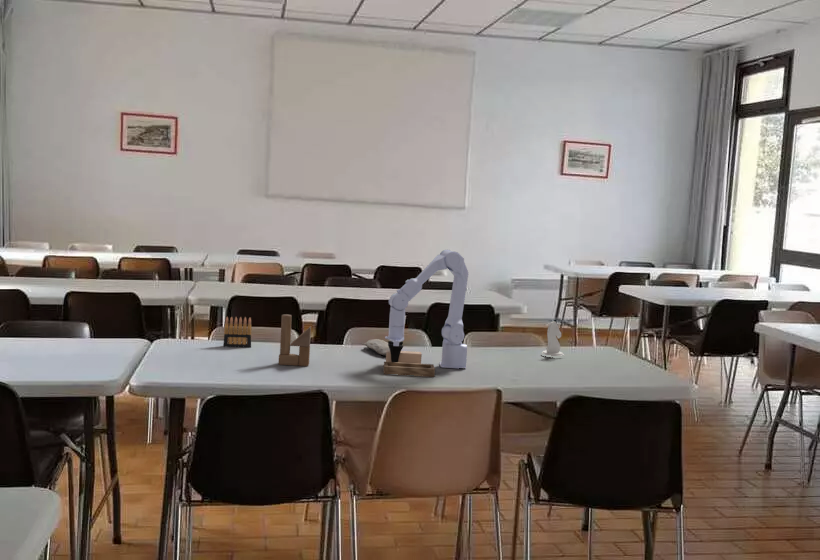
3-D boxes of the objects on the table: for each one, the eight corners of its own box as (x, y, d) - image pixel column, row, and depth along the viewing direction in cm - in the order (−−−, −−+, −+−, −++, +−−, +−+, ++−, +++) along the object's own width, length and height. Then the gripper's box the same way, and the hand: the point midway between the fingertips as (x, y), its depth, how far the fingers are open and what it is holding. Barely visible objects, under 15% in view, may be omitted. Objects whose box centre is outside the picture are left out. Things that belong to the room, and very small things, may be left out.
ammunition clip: (223, 346, 316) (224, 316, 315) (223, 346, 318) (224, 315, 317) (251, 347, 318) (252, 317, 317) (251, 346, 320) (252, 316, 319)
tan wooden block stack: (308, 366, 291) (310, 317, 289) (278, 365, 290) (280, 315, 288) (309, 364, 294) (311, 315, 293) (279, 362, 294) (281, 313, 292)
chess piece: (569, 357, 340) (572, 322, 338) (553, 359, 334) (556, 323, 332) (551, 353, 348) (554, 318, 346) (535, 355, 341) (538, 319, 340)
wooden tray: (432, 371, 295) (433, 364, 295) (434, 377, 287) (434, 369, 287) (383, 369, 294) (384, 361, 294) (383, 374, 286) (384, 366, 286)
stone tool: (386, 335, 338) (405, 346, 315) (386, 347, 339) (404, 359, 315) (360, 335, 335) (376, 346, 311) (359, 347, 335) (376, 359, 311)
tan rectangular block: (420, 366, 303) (421, 351, 303) (420, 368, 299) (421, 354, 299) (385, 364, 303) (386, 350, 302) (385, 366, 299) (386, 352, 298)
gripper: (385, 322, 306) (383, 357, 308) (386, 328, 292) (383, 365, 293) (404, 323, 307) (402, 358, 308) (405, 329, 292) (403, 366, 294)
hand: (394, 361), depth 301 cm, fingers closed on tan rectangular block, 4 cm apart
